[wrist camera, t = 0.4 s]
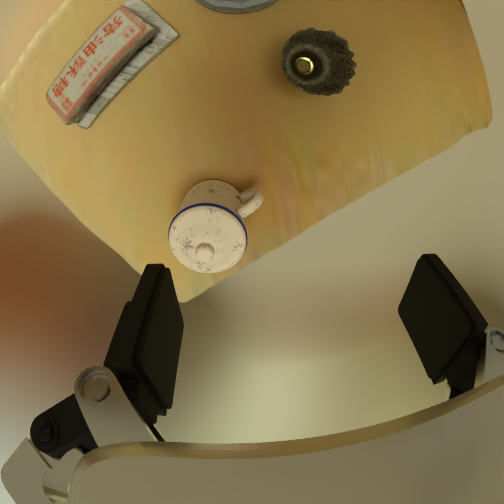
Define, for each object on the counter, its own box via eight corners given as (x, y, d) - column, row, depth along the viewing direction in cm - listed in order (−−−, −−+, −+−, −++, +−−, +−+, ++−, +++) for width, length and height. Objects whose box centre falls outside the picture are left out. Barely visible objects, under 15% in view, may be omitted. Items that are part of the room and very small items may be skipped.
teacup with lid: (207, 245, 41) (198, 299, 32) (168, 200, 37) (144, 246, 27) (275, 205, 38) (288, 253, 28) (240, 152, 33) (240, 183, 24)
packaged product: (71, 138, 26) (32, 94, 21) (89, 130, 30) (52, 90, 25) (173, 29, 20) (124, -14, 16) (182, 36, 24) (138, -4, 20)
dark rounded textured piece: (271, 90, 29) (279, 90, 22) (274, 36, 25) (284, 22, 18) (329, 97, 29) (353, 101, 23) (333, 45, 25) (358, 36, 18)
